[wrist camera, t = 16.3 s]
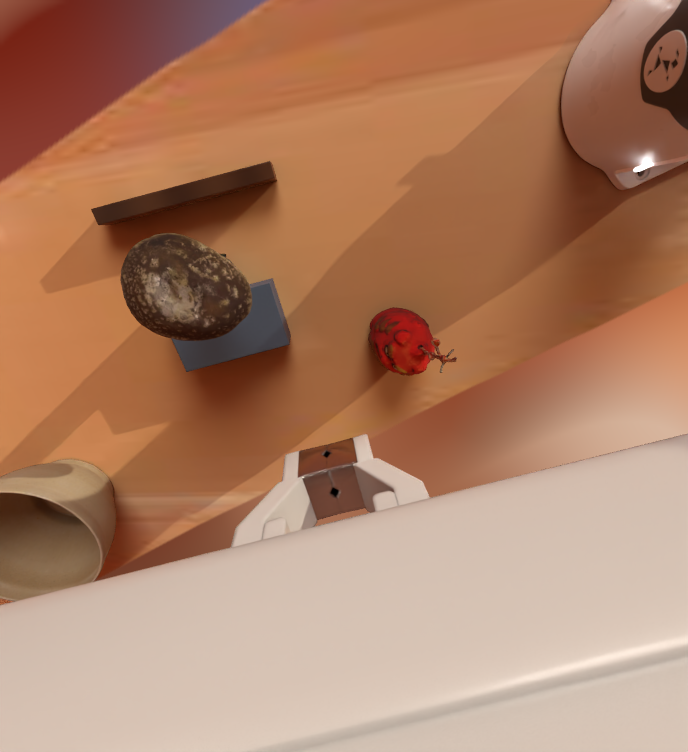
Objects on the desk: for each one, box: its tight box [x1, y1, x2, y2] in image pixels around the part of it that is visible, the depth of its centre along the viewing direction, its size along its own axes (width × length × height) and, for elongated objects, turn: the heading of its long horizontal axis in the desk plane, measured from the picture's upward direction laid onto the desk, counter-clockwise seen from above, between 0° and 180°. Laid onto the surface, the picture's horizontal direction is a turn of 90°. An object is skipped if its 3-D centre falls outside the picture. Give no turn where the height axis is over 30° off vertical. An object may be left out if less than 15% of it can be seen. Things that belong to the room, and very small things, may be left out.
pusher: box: [172, 279, 291, 372], centre depth 43 cm, size 12×7×4 cm, turn 104°
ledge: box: [91, 161, 277, 225], centre depth 38 cm, size 18×2×2 cm, turn 104°
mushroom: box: [121, 233, 252, 341], centre depth 35 cm, size 9×9×15 cm
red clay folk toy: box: [368, 308, 457, 376], centre depth 40 cm, size 8×7×15 cm
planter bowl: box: [0, 459, 116, 601], centre depth 46 cm, size 16×16×11 cm
